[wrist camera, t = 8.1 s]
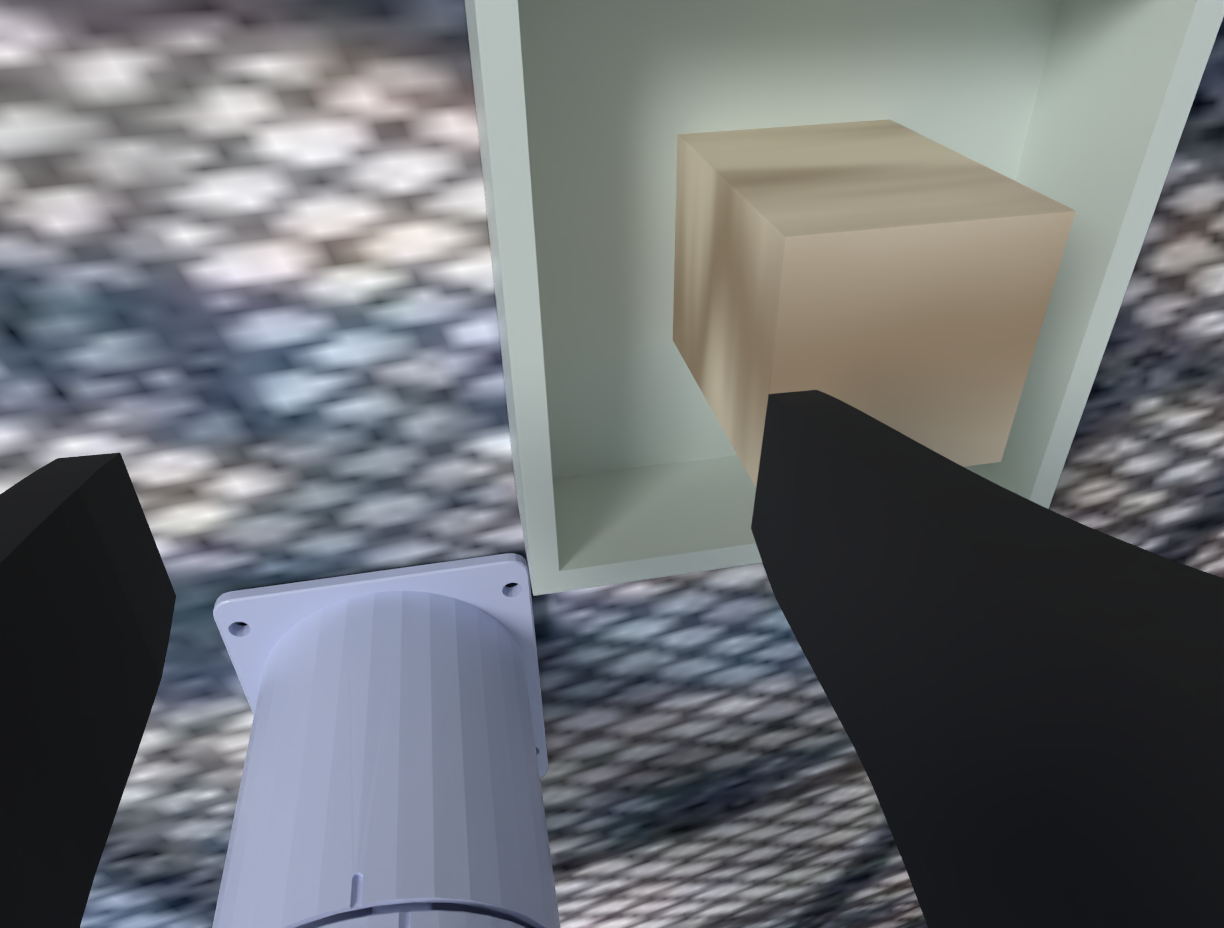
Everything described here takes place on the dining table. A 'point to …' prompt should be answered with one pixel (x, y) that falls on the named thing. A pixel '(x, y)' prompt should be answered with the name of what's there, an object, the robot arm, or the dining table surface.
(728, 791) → the dining table surface
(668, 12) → the bin
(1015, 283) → the birch block
